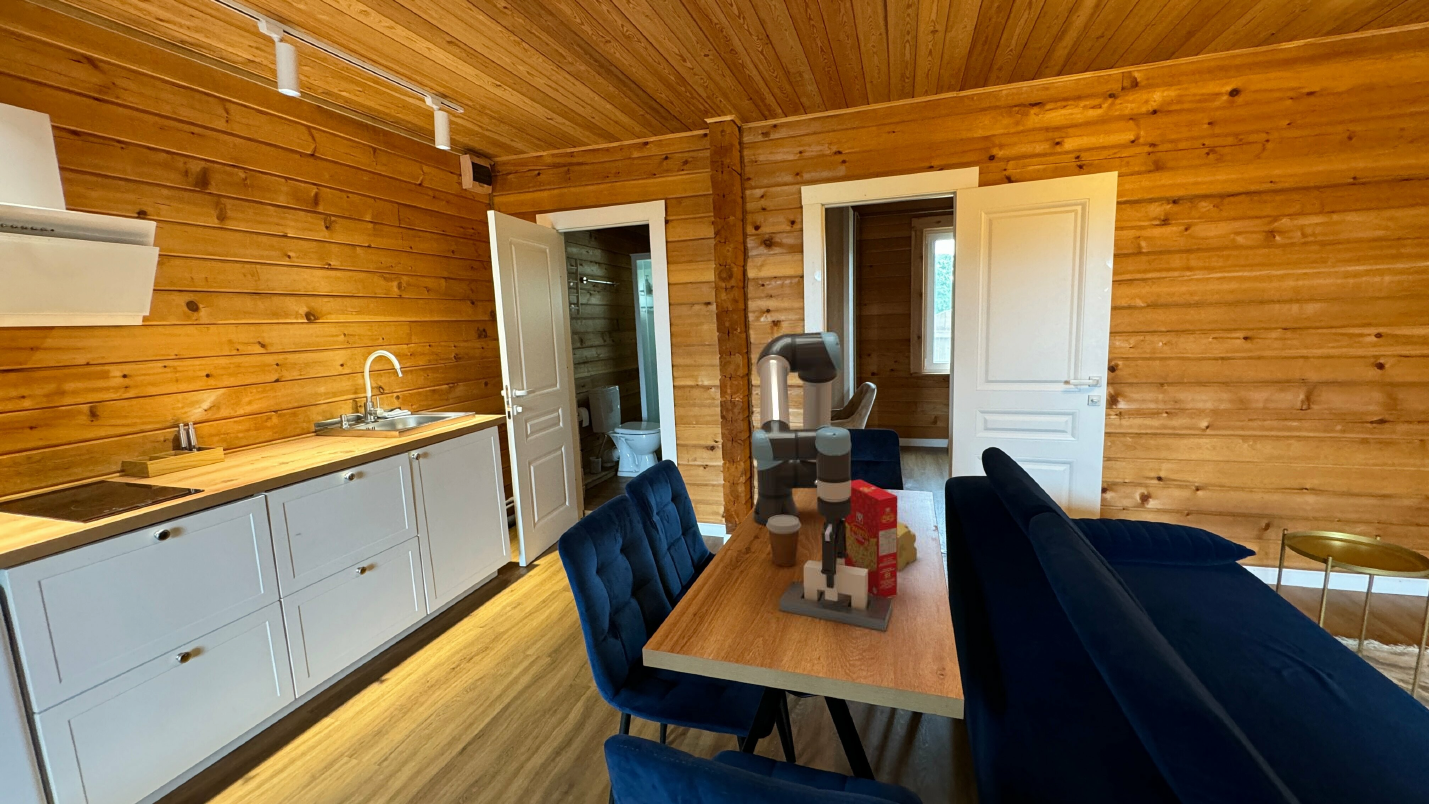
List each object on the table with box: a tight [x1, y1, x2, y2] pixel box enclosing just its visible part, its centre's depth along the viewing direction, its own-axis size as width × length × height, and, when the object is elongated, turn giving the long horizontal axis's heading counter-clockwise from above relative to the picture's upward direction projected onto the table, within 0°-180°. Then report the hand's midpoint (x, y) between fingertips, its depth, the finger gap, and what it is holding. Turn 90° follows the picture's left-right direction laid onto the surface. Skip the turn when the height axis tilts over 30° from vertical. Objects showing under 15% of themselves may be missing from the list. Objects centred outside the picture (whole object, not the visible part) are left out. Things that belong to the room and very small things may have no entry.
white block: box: [803, 559, 868, 611], centre depth 129 cm, size 14×4×10 cm, turn 65°
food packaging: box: [843, 479, 898, 598], centre depth 138 cm, size 15×5×25 cm, turn 21°
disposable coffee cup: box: [765, 515, 802, 567], centre depth 154 cm, size 10×10×12 cm
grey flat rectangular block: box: [778, 580, 893, 632], centre depth 129 cm, size 24×10×2 cm, turn 65°
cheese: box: [897, 520, 918, 572], centre depth 152 cm, size 10×11×10 cm
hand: (835, 591), depth 128 cm, fingers open, 7 cm apart
